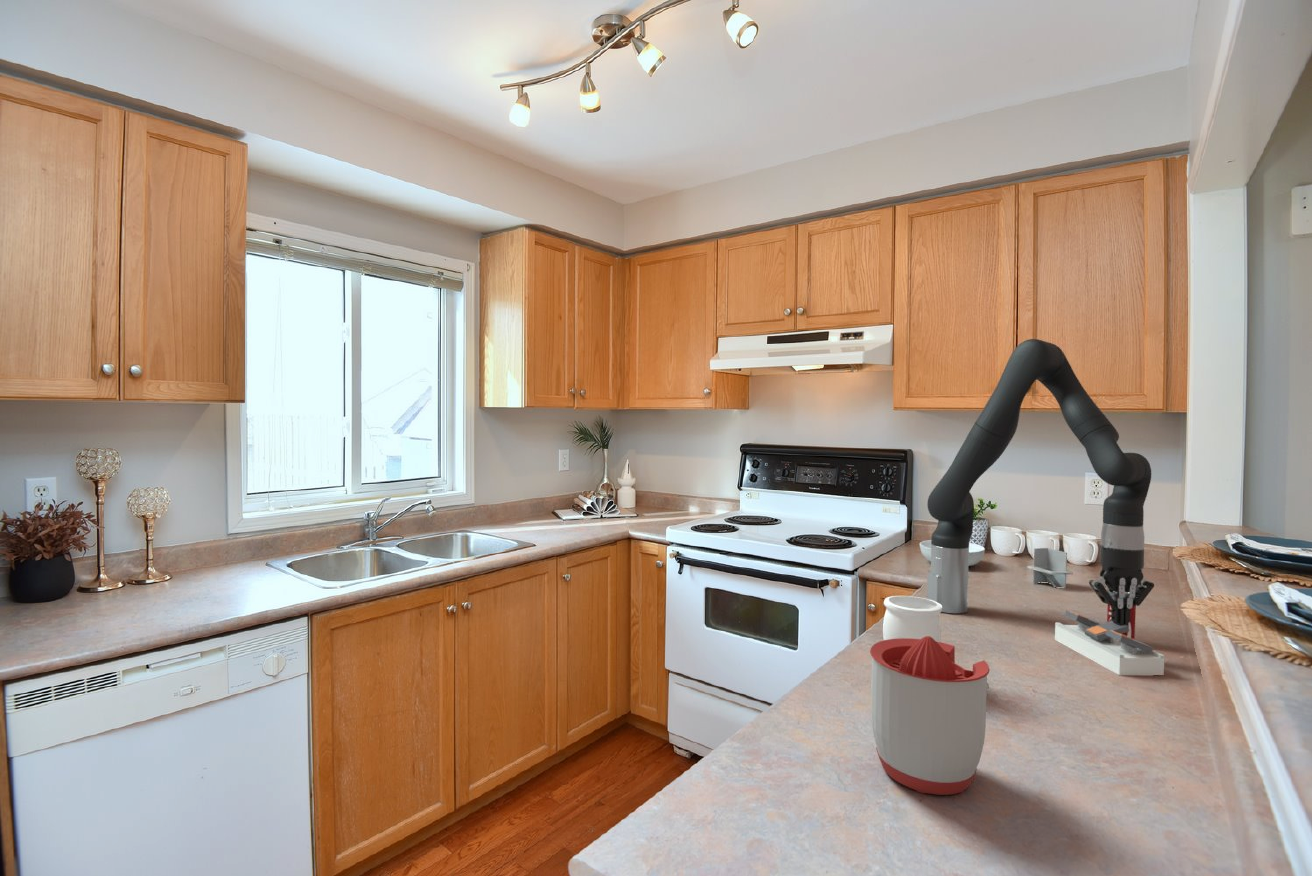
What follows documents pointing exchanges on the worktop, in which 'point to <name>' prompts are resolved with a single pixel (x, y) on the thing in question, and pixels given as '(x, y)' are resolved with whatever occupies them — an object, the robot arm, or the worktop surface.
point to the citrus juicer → (927, 714)
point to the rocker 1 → (1081, 618)
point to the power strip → (1110, 652)
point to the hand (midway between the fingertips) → (1120, 624)
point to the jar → (911, 618)
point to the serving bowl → (974, 552)
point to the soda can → (1130, 625)
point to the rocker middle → (1104, 630)
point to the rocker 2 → (1129, 641)
